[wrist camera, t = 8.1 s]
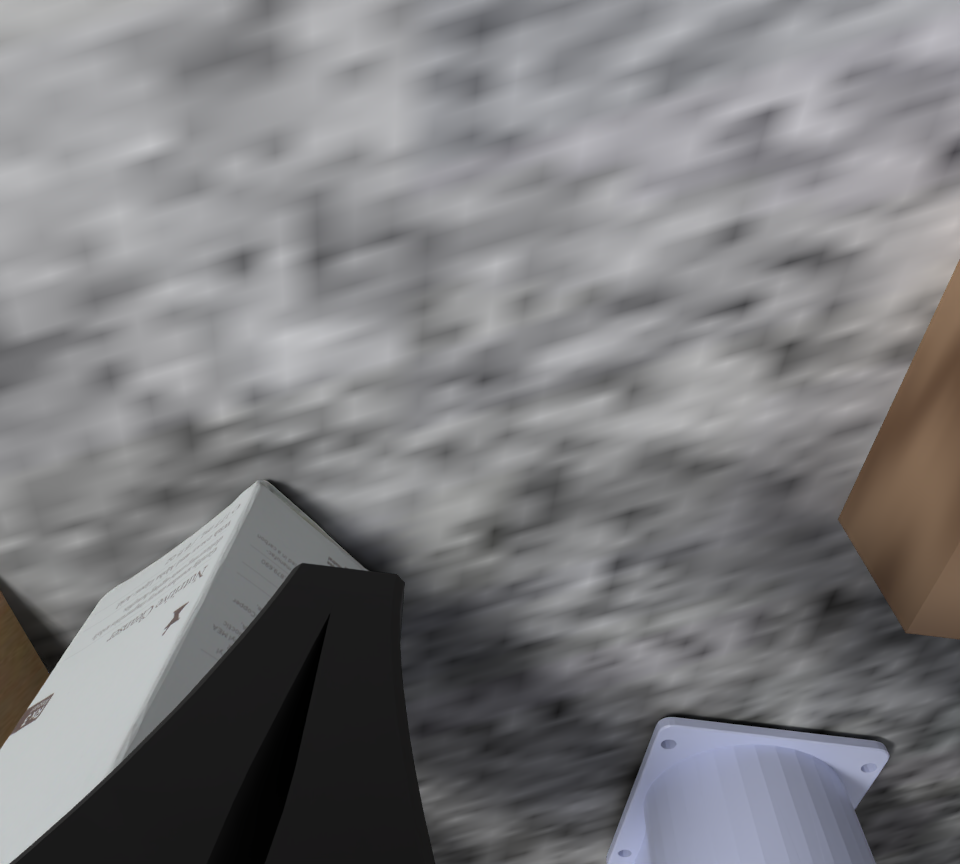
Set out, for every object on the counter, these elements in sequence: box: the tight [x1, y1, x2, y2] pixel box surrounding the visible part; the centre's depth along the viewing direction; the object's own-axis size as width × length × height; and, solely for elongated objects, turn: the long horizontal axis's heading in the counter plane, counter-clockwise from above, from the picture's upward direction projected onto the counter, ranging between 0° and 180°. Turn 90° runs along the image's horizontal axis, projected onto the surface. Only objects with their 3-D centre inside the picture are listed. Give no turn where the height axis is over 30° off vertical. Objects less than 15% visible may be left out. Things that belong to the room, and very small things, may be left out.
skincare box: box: [0, 480, 368, 864], centre depth 17 cm, size 8×6×15 cm
